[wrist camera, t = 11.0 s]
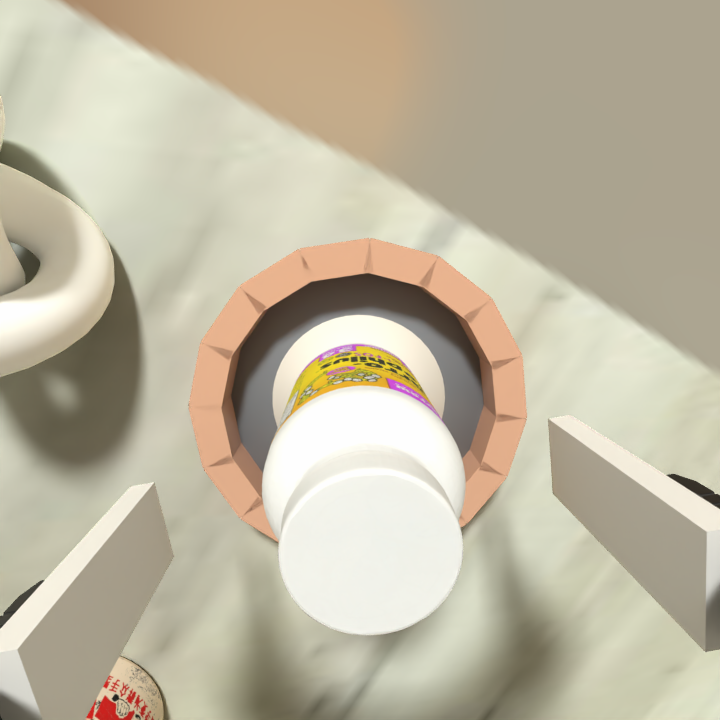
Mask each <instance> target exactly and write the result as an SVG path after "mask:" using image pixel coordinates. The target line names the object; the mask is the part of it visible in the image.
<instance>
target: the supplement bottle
mask: <svg viewBox="0 0 720 720" xmlns="http://www.w3.org/2000/svg"><path fill="white" fill-rule="evenodd" d="M465 490H466V480H465V471H464V465H463V461H462V457H461V454H460V451H459V449H458V446H457V444H456V442H455V440H454V438H453V437H452V435H451V433H450V432H449V430H448V428H447V427H446V425H445V424H444V422H443V421H442V419H441V417H440V416H439V414H438V413H437V411H436V409H435V408H434V406H433V405H432V403H431V402H430V400H429V399H428V397H427V395H426V394H425V392H424V390H423V389H422V387H421V386H420V384H419V382H418V381H417V379H416V378H415V376H414V374H413V373H412V372H411V370H410V369H409V368H408V366H407V365H406V364H405V363H404V362H403V361H402V360H401V359H400V358H399V357H397V356H396V355H395V354H393V353H392V352H390V351H388V350H386V349H384V348H382V347H379V346H376V345H372V344H366V343H347V344H342V345H338V346H335V347H332V348H330V349H328V350H326V351H324V352H322V353H321V354H319V355H318V356H316V357H315V358H314V359H312V360H311V361H310V362H309V363H308V364H307V365H306V367H305V368H304V369H303V371H302V372H301V374H300V375H299V377H298V379H297V380H296V382H295V385H294V387H293V389H292V392H291V395H290V397H289V399H288V402H287V405H286V407H285V410H284V412H283V415H282V418H281V420H280V423H279V426H278V428H277V431H276V433H275V436H274V439H273V441H272V443H271V446H270V449H269V452H268V456H267V459H266V462H265V466H264V471H263V478H262V499H263V504H264V509H265V513H266V517H267V519H268V522H269V524H270V527H271V529H272V531H273V533H274V534H275V536H276V538H277V539H278V541H279V546H278V560H279V568H280V573H281V576H282V579H283V582H284V584H285V587H286V589H287V591H288V592H289V594H290V595H291V597H292V598H293V600H294V602H295V603H296V604H297V605H298V606H299V607H300V608H301V609H302V610H303V611H304V612H305V613H306V614H307V615H308V616H310V617H311V618H313V619H314V620H316V621H317V622H319V623H321V624H323V625H324V626H327V627H329V628H331V629H334V630H337V631H340V632H344V633H348V634H354V635H381V634H388V633H392V632H396V631H399V630H402V629H405V628H407V627H409V626H412V625H414V624H415V623H417V622H419V621H421V620H423V619H424V618H426V617H428V616H429V615H430V614H431V613H432V612H433V611H435V610H436V609H437V608H438V607H439V606H440V605H441V604H442V602H443V601H444V600H445V599H446V598H447V596H448V595H449V593H450V592H451V590H452V589H453V587H454V585H455V583H456V581H457V578H458V575H459V572H460V569H461V565H462V560H463V537H462V532H461V527H460V524H459V518H460V515H461V512H462V509H463V504H464V498H465Z"/></svg>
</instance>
